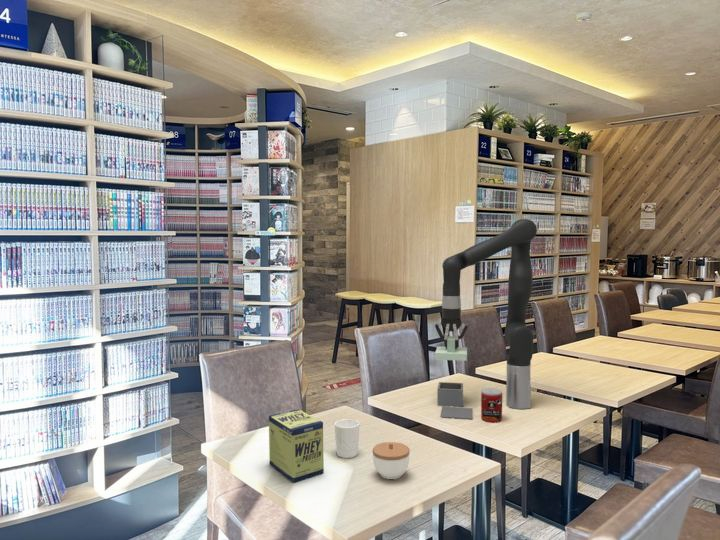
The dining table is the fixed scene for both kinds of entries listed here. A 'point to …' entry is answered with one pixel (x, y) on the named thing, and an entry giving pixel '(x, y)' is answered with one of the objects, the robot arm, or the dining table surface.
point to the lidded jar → (391, 459)
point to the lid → (451, 351)
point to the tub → (450, 394)
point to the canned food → (491, 405)
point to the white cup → (347, 438)
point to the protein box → (296, 445)
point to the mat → (457, 413)
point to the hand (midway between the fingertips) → (451, 348)
